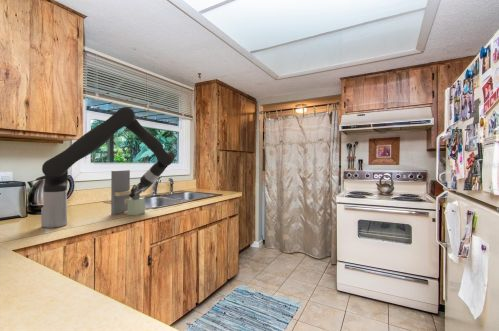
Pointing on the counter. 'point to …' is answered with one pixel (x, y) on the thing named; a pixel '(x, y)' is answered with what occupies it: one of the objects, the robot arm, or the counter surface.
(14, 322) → the counter surface
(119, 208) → the wall board
